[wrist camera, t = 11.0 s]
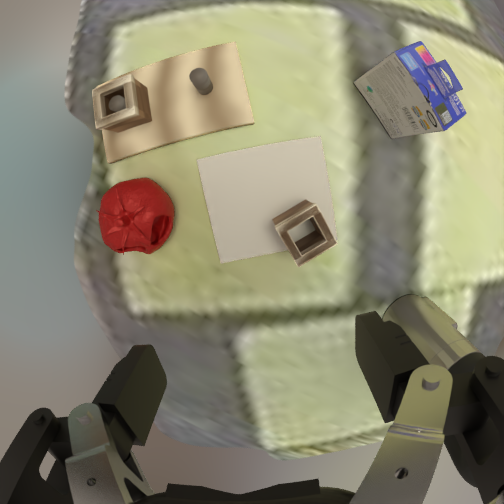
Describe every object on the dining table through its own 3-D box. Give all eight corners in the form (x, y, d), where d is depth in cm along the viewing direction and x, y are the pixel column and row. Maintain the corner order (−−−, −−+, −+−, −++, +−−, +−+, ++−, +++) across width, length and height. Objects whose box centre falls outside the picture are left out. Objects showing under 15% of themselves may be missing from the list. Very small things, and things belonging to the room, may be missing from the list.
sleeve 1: (147, 86, 30) (130, 73, 24) (153, 121, 31) (135, 113, 25) (113, 99, 30) (92, 90, 24) (118, 133, 31) (96, 128, 26)
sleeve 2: (305, 198, 35) (316, 203, 29) (324, 232, 36) (337, 243, 31) (271, 218, 36) (275, 228, 30) (291, 252, 37) (298, 267, 31)
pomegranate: (103, 202, 35) (65, 212, 27) (156, 162, 34) (126, 159, 25) (138, 260, 38) (108, 284, 29) (194, 225, 36) (174, 242, 27)
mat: (319, 136, 33) (320, 136, 33) (336, 239, 37) (337, 240, 37) (197, 159, 34) (196, 159, 34) (221, 262, 38) (220, 263, 37)
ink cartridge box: (416, 124, 32) (482, 113, 18) (391, 141, 33) (457, 133, 19) (378, 67, 30) (432, 31, 16) (351, 82, 31) (402, 44, 17)
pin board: (235, 45, 29) (233, 24, 23) (254, 123, 33) (254, 114, 27) (100, 88, 30) (78, 78, 24) (111, 163, 34) (89, 163, 28)
